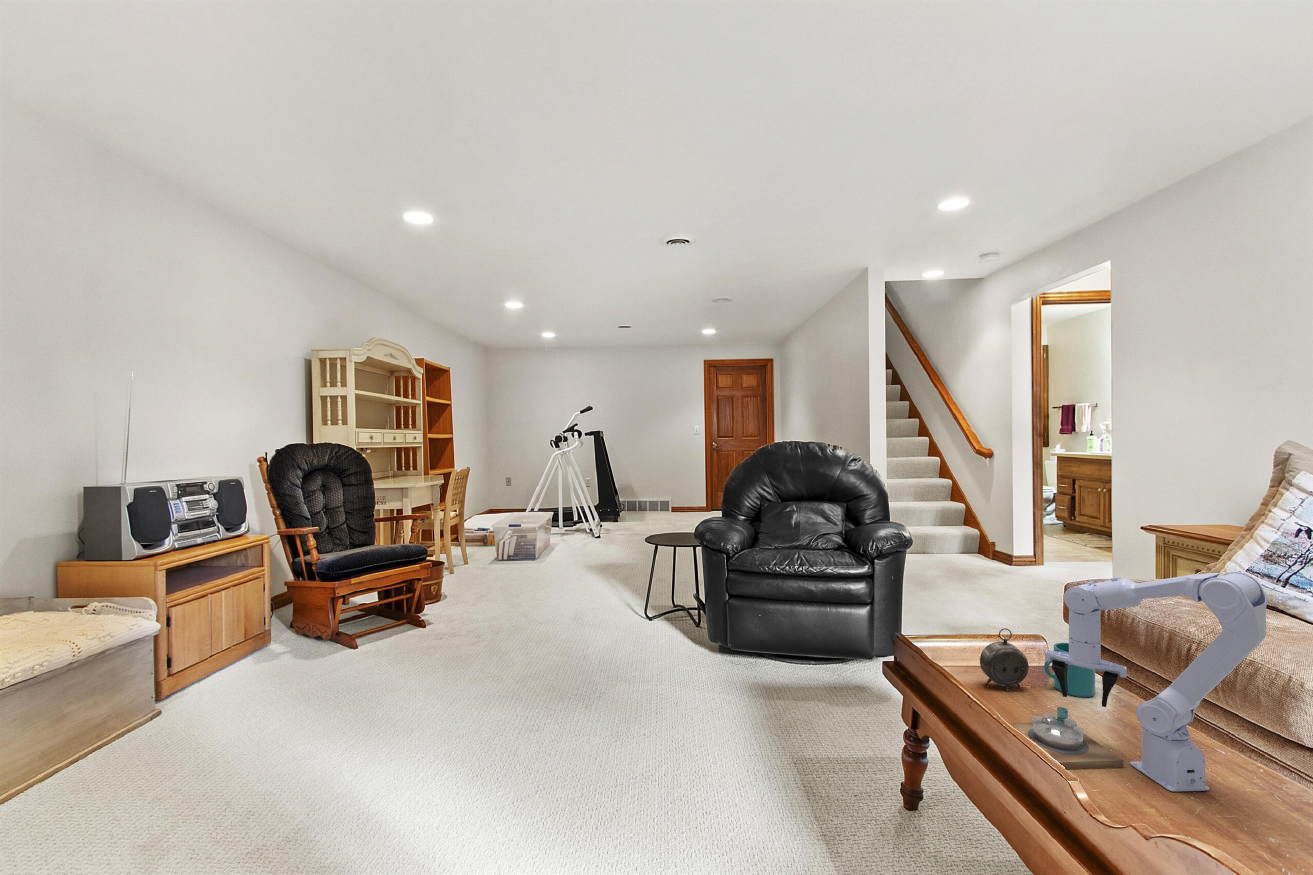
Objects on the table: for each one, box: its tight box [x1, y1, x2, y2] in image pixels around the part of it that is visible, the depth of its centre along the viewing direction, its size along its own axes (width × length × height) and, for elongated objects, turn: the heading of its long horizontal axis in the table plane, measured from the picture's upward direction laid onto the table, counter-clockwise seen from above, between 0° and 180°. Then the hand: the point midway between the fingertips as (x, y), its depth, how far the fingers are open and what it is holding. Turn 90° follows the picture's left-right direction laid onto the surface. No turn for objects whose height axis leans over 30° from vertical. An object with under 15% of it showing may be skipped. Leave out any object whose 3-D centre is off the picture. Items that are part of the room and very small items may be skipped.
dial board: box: [1009, 722, 1124, 770], centre depth 128 cm, size 16×16×2 cm
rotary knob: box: [1032, 706, 1084, 750], centre depth 129 cm, size 12×9×4 cm
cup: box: [1043, 642, 1096, 698], centre depth 156 cm, size 9×12×11 cm
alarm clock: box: [979, 627, 1030, 693], centre depth 157 cm, size 11×5×16 cm, turn 84°
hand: (1084, 700), depth 130 cm, fingers open, 6 cm apart
